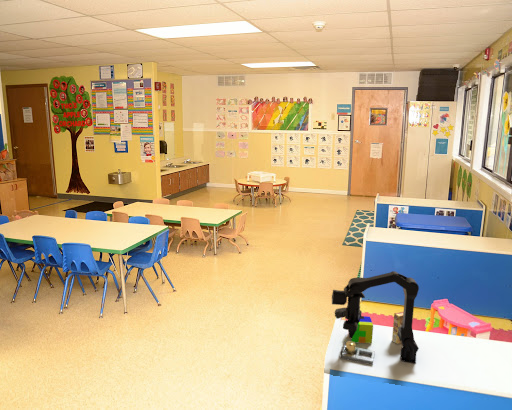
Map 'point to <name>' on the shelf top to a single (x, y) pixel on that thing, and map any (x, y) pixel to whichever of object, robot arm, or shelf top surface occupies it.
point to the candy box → (397, 323)
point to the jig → (357, 357)
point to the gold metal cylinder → (350, 348)
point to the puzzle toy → (363, 331)
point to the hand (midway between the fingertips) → (351, 335)
